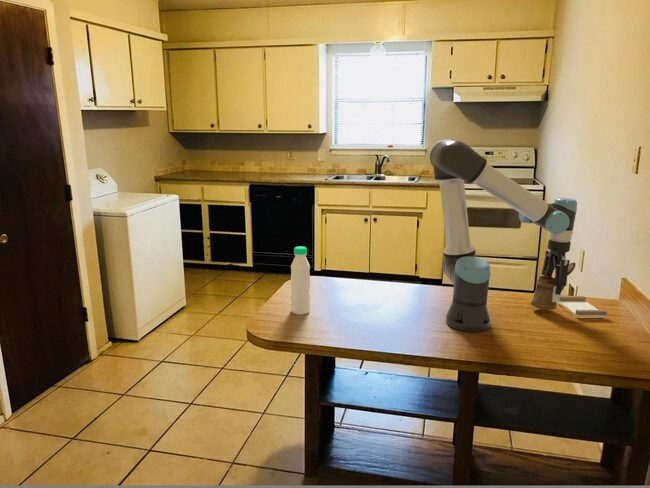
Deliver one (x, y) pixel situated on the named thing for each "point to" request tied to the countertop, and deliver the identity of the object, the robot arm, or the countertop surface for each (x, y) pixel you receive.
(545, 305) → the wooden mug
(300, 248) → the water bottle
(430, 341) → the countertop surface
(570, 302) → the ledge board
